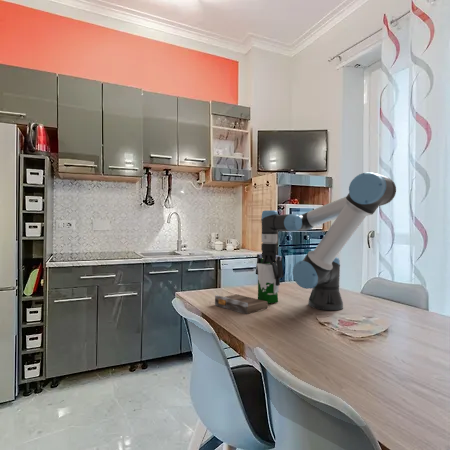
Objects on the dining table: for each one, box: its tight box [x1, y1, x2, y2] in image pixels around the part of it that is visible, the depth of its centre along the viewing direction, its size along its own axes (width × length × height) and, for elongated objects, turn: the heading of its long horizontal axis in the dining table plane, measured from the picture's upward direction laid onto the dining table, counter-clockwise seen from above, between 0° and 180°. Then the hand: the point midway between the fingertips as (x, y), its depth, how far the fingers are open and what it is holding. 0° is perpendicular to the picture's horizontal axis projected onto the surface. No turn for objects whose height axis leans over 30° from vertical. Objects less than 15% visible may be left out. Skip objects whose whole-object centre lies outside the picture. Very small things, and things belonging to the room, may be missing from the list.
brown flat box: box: [214, 294, 268, 315], centre depth 147 cm, size 19×15×4 cm
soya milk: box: [256, 258, 279, 304], centre depth 157 cm, size 9×9×20 cm
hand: (269, 290), depth 156 cm, fingers open, 7 cm apart
